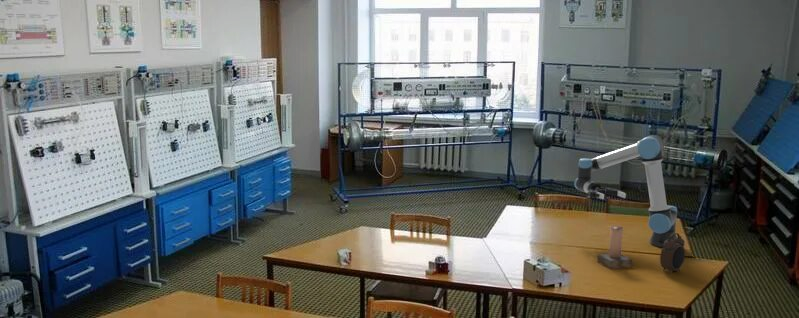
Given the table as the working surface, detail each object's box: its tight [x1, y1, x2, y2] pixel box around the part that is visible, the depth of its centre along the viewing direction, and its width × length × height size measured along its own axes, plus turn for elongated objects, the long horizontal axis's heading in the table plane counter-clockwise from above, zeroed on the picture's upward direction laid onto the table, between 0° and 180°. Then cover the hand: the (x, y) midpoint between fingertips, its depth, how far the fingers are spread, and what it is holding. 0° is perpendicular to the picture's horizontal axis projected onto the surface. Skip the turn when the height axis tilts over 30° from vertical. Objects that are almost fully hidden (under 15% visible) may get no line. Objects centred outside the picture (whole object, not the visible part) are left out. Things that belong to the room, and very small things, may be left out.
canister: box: [608, 225, 624, 259], centre depth 374 cm, size 6×6×16 cm
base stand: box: [596, 253, 633, 270], centre depth 375 cm, size 13×12×4 cm
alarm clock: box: [659, 232, 686, 275], centre depth 363 cm, size 15×7×20 cm, turn 129°
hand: (614, 196), depth 391 cm, fingers open, 13 cm apart
